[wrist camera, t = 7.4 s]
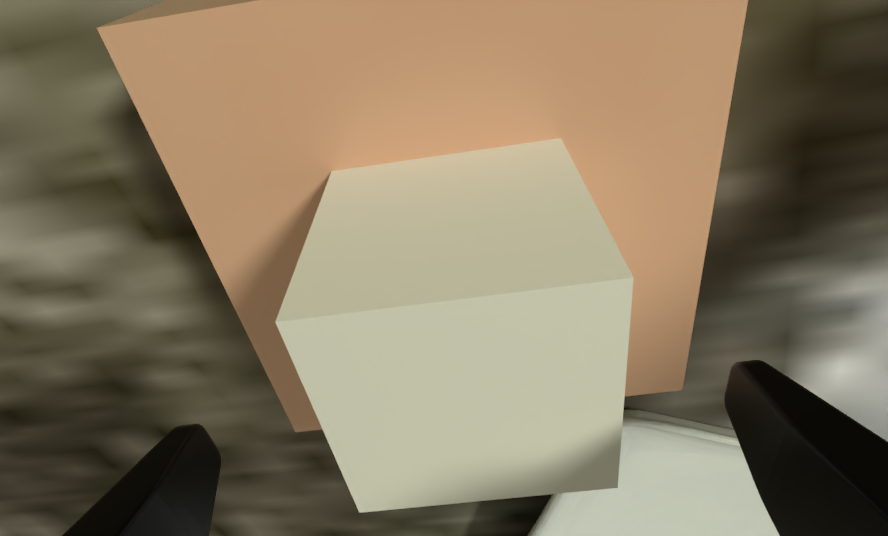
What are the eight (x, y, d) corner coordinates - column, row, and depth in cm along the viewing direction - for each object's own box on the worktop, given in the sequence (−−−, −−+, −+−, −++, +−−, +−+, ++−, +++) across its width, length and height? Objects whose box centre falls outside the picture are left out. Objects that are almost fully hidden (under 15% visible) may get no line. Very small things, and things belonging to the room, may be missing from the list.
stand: (674, -91, 12) (762, -87, 9) (639, 305, 19) (682, 390, 16) (180, -5, 13) (96, 28, 10) (318, 344, 20) (295, 432, 17)
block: (560, 137, 11) (633, 277, 7) (564, 315, 14) (617, 487, 10) (331, 171, 12) (275, 322, 7) (380, 337, 14) (359, 512, 10)
